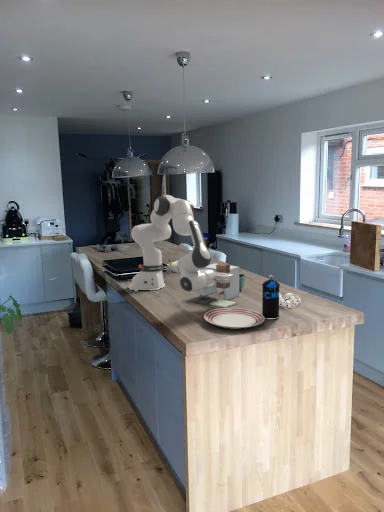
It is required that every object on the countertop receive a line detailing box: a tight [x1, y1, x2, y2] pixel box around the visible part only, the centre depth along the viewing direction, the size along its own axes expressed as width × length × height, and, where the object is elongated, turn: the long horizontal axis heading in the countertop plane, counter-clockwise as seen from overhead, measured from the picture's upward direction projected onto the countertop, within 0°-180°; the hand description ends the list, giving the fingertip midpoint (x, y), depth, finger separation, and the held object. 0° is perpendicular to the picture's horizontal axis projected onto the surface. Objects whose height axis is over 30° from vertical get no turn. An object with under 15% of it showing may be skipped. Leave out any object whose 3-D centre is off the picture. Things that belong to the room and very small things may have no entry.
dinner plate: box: [203, 307, 266, 330], centre depth 197 cm, size 27×27×3 cm
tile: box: [209, 298, 238, 308], centre depth 226 cm, size 10×10×1 cm
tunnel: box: [201, 262, 240, 301], centre depth 242 cm, size 12×17×16 cm
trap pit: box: [192, 295, 217, 305], centre depth 233 cm, size 9×9×1 cm
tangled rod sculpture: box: [279, 292, 302, 308], centre depth 225 cm, size 19×14×4 cm
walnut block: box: [216, 262, 231, 290], centre depth 223 cm, size 5×5×12 cm
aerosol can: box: [261, 274, 281, 318], centre depth 202 cm, size 8×8×20 cm
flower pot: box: [239, 273, 247, 292], centre depth 254 cm, size 9×9×9 cm
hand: (224, 273), depth 224 cm, fingers closed on walnut block, 5 cm apart
